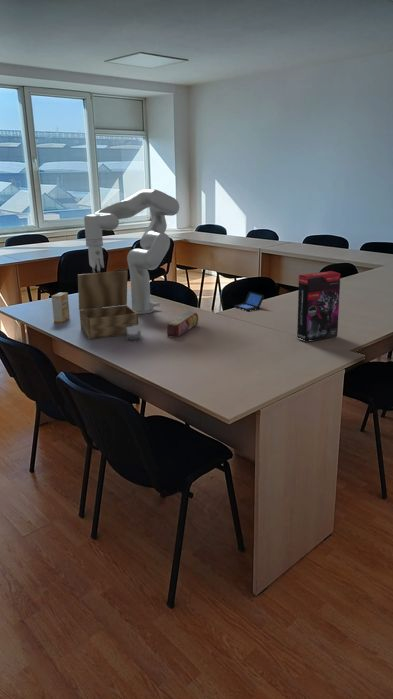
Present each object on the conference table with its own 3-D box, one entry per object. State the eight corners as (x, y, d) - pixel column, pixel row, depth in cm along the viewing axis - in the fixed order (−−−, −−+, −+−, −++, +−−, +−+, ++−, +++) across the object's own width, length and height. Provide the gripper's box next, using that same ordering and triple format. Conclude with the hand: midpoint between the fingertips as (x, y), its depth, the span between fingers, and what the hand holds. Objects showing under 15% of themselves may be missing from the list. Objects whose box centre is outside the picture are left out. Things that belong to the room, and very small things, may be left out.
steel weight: (138, 336, 225) (137, 323, 223) (142, 340, 220) (142, 326, 218) (124, 338, 223) (124, 325, 221) (128, 342, 217) (128, 328, 215)
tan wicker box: (127, 323, 245) (126, 305, 242) (138, 332, 230) (137, 313, 228) (81, 329, 237) (79, 310, 234) (89, 339, 222) (87, 319, 219)
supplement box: (63, 323, 248) (60, 295, 244) (53, 322, 249) (50, 295, 244) (70, 318, 255) (68, 292, 251) (61, 318, 256) (58, 291, 252)
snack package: (179, 338, 222) (179, 323, 220) (165, 336, 225) (164, 321, 223) (198, 325, 241) (198, 311, 239) (185, 324, 243) (185, 310, 241)
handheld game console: (233, 307, 273) (233, 293, 271) (249, 304, 279) (249, 291, 277) (248, 312, 263) (248, 297, 261) (264, 309, 269) (265, 295, 267)
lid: (126, 304, 242) (126, 304, 243) (127, 271, 233) (127, 270, 234) (79, 310, 234) (78, 309, 235) (78, 275, 225) (77, 274, 226)
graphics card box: (305, 343, 213) (309, 277, 204) (294, 339, 219) (298, 274, 210) (337, 337, 220) (342, 272, 212) (326, 333, 226) (331, 270, 218)
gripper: (106, 244, 232) (109, 284, 237) (98, 240, 245) (101, 279, 251) (89, 245, 229) (92, 286, 235) (82, 241, 242) (85, 280, 248)
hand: (97, 282), depth 243 cm, fingers closed
